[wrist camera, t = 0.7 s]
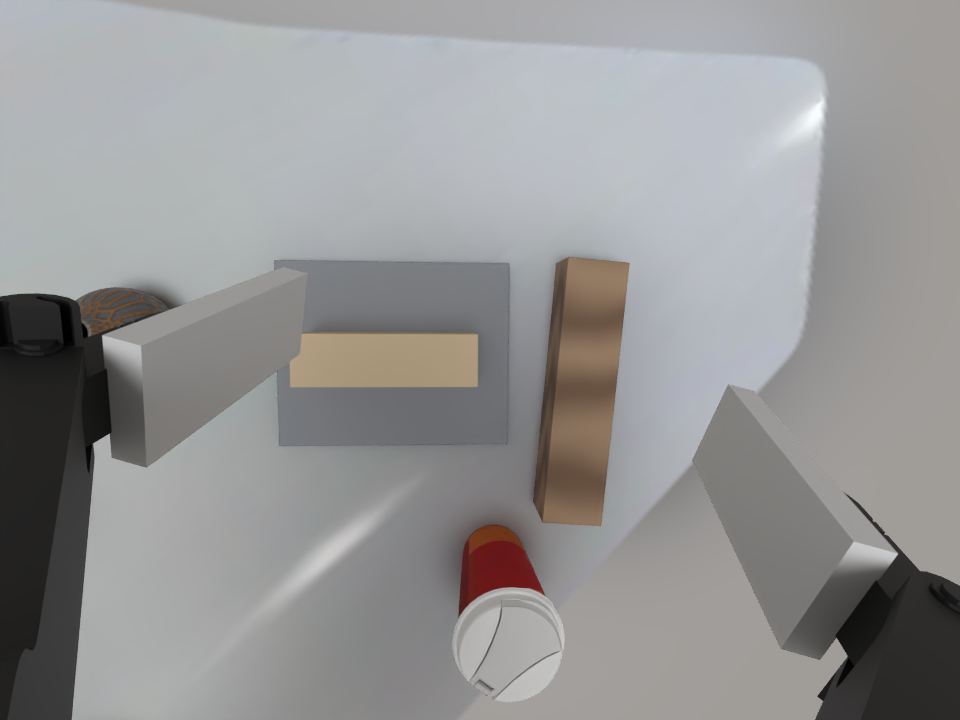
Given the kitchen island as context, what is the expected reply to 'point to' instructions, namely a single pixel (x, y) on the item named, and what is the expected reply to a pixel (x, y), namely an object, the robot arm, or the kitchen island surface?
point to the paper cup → (504, 620)
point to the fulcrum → (398, 355)
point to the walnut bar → (580, 390)
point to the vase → (115, 308)
